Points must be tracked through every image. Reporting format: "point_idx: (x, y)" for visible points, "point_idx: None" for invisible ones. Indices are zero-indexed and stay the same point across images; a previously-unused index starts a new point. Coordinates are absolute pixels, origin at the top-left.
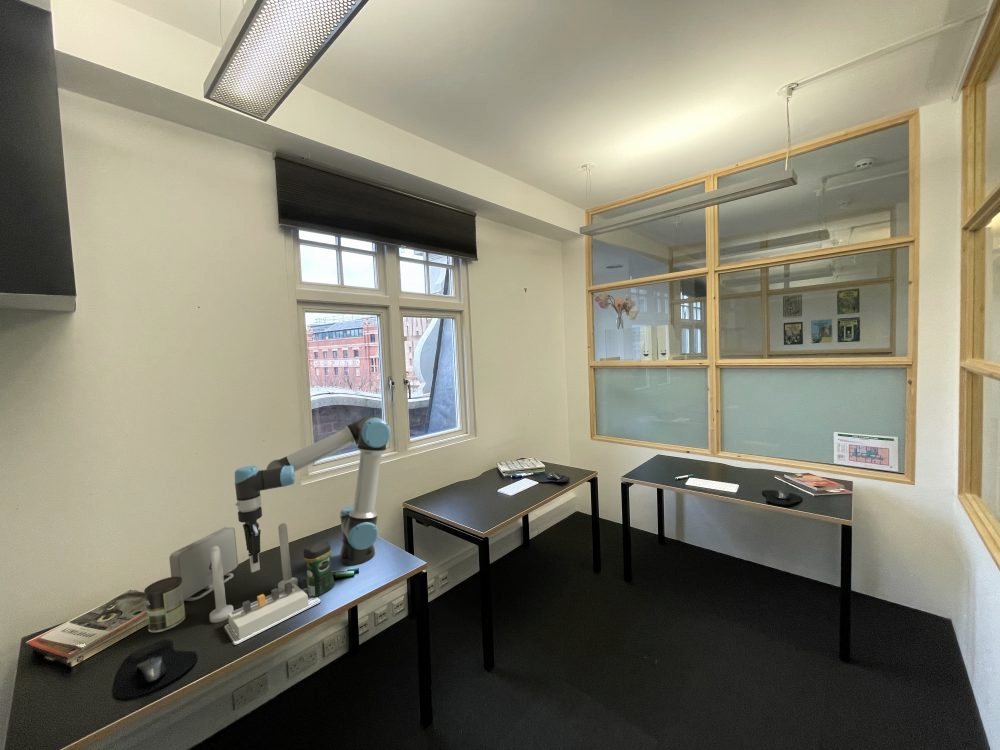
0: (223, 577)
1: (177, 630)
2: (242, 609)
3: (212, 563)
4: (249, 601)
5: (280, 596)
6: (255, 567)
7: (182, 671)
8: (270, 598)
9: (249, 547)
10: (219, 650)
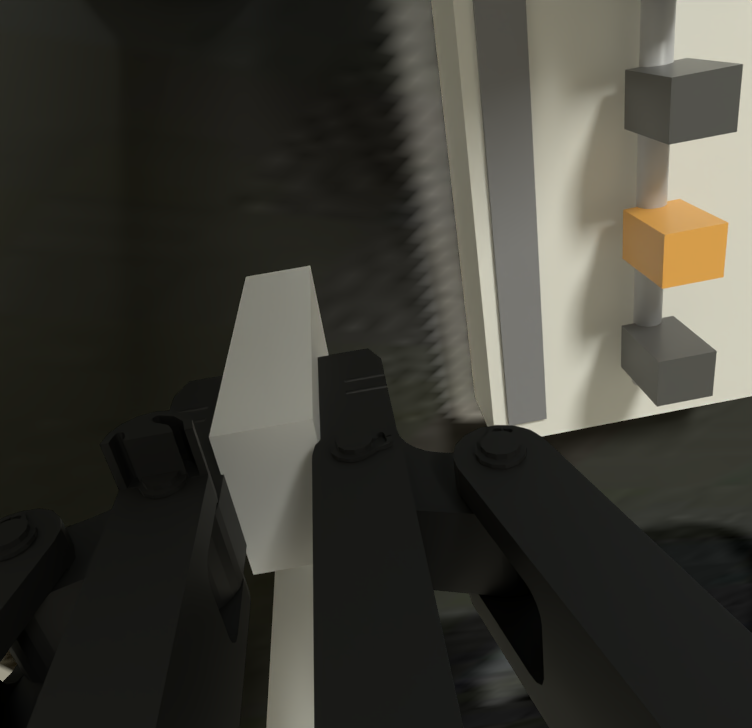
0: None
1: None
2: (540, 361)
3: None
4: (697, 356)
5: (674, 41)
6: (323, 348)
7: (730, 567)
8: (542, 130)
9: (234, 706)
10: (720, 442)
